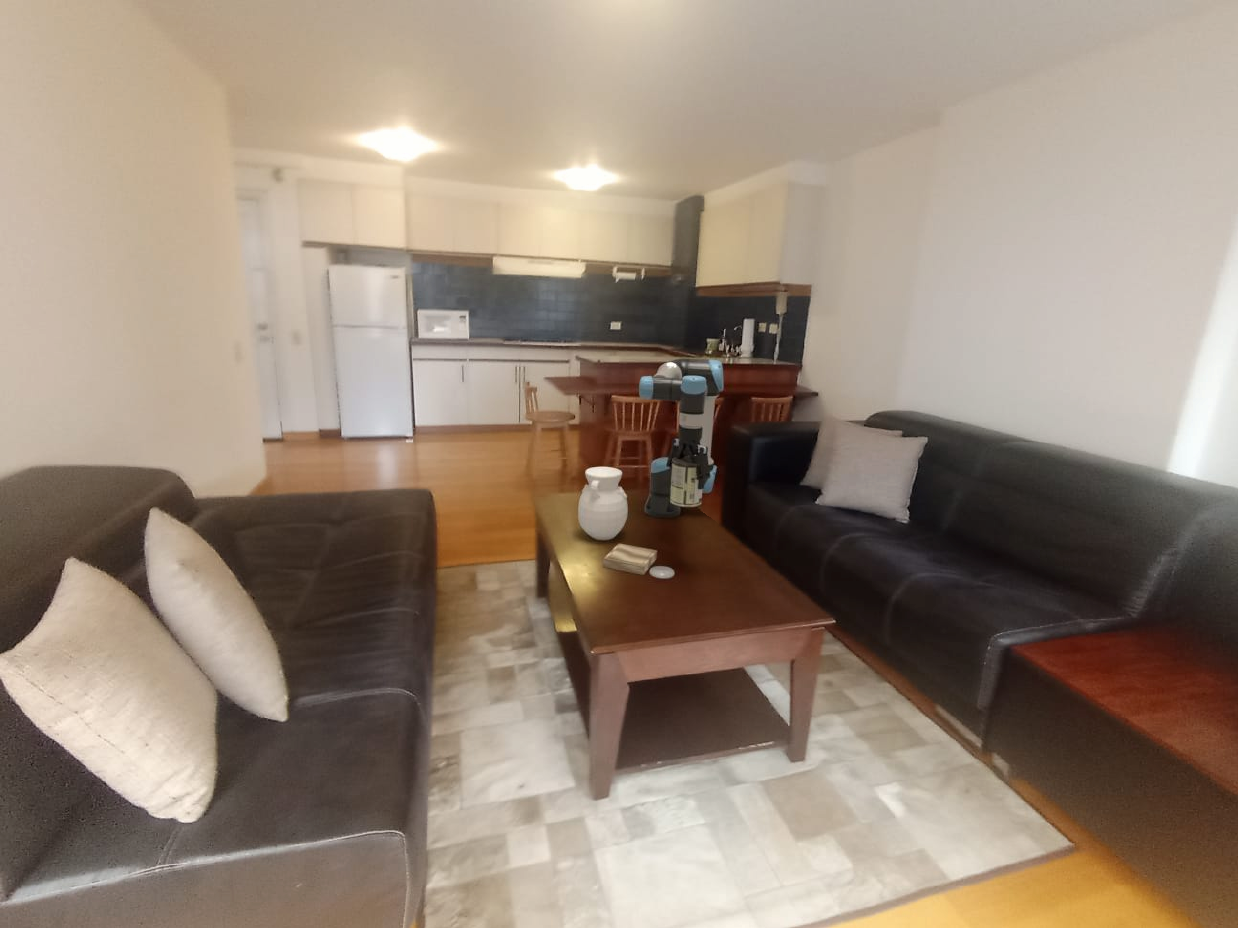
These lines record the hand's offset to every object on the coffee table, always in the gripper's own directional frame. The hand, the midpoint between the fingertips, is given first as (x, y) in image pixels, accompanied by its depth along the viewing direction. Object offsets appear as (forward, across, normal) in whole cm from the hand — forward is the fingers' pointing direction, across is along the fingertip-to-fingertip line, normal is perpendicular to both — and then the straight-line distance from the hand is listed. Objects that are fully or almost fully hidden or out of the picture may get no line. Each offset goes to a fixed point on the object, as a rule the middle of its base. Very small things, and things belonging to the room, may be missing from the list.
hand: (685, 493), depth 186 cm
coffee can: (+3, 0, 0) cm, 3 cm away
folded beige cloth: (+26, -11, -12) cm, 31 cm away
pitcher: (+26, -36, -6) cm, 45 cm away
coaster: (+26, 0, -9) cm, 27 cm away
